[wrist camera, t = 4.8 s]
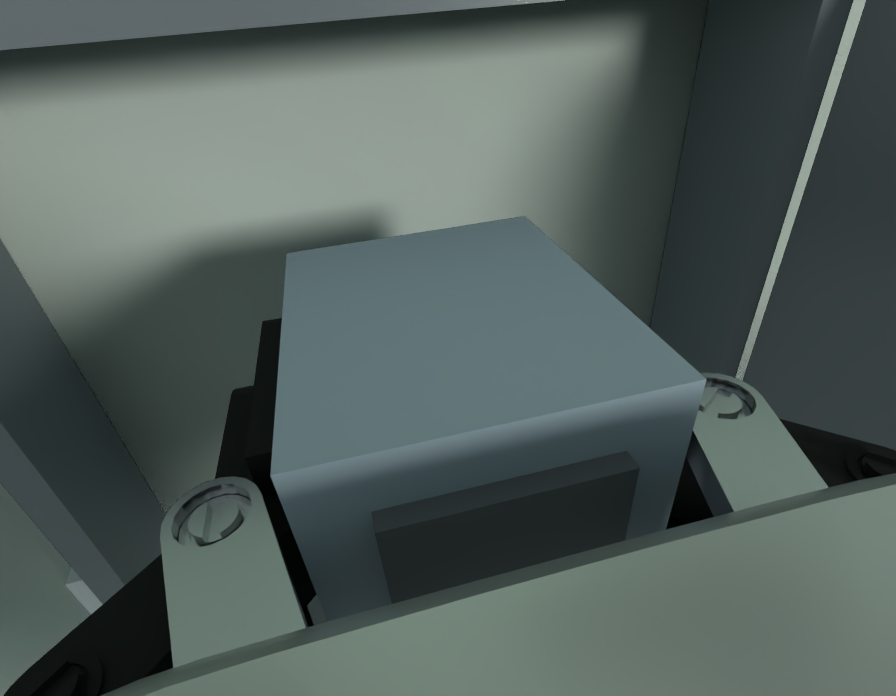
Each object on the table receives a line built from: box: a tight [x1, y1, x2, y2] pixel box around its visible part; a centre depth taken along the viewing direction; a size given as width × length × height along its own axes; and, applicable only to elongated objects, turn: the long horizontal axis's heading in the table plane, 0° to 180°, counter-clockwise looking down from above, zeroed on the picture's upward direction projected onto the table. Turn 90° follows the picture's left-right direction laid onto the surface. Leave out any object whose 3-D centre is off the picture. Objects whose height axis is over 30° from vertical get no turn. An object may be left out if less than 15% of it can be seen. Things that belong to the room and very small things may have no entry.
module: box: [270, 216, 707, 622], centre depth 9 cm, size 5×5×6 cm
